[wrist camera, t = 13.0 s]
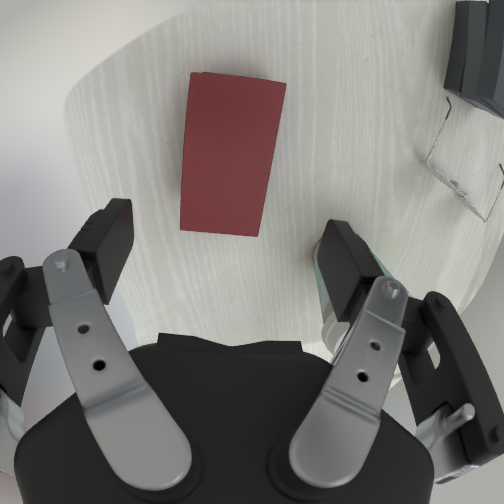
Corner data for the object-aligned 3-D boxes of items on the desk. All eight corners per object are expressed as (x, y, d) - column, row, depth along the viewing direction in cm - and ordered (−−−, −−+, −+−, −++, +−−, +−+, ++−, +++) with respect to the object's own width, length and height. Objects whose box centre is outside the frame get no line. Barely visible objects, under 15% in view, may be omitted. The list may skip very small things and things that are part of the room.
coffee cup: (328, 205, 27) (376, 291, 17) (387, 236, 30) (439, 315, 20) (285, 269, 31) (305, 362, 22) (344, 290, 34) (375, 372, 24)
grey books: (454, -2, 13) (502, -4, 7) (490, 26, 14) (537, 32, 8) (440, 89, 20) (490, 105, 14) (476, 110, 21) (523, 131, 15)
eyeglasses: (408, 154, 24) (432, 166, 21) (440, 93, 21) (467, 98, 17) (471, 213, 28) (490, 228, 25) (498, 163, 25) (519, 174, 21)
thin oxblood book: (193, 72, 17) (190, 72, 15) (282, 82, 18) (286, 83, 16) (182, 220, 24) (179, 230, 22) (256, 226, 24) (257, 237, 23)
